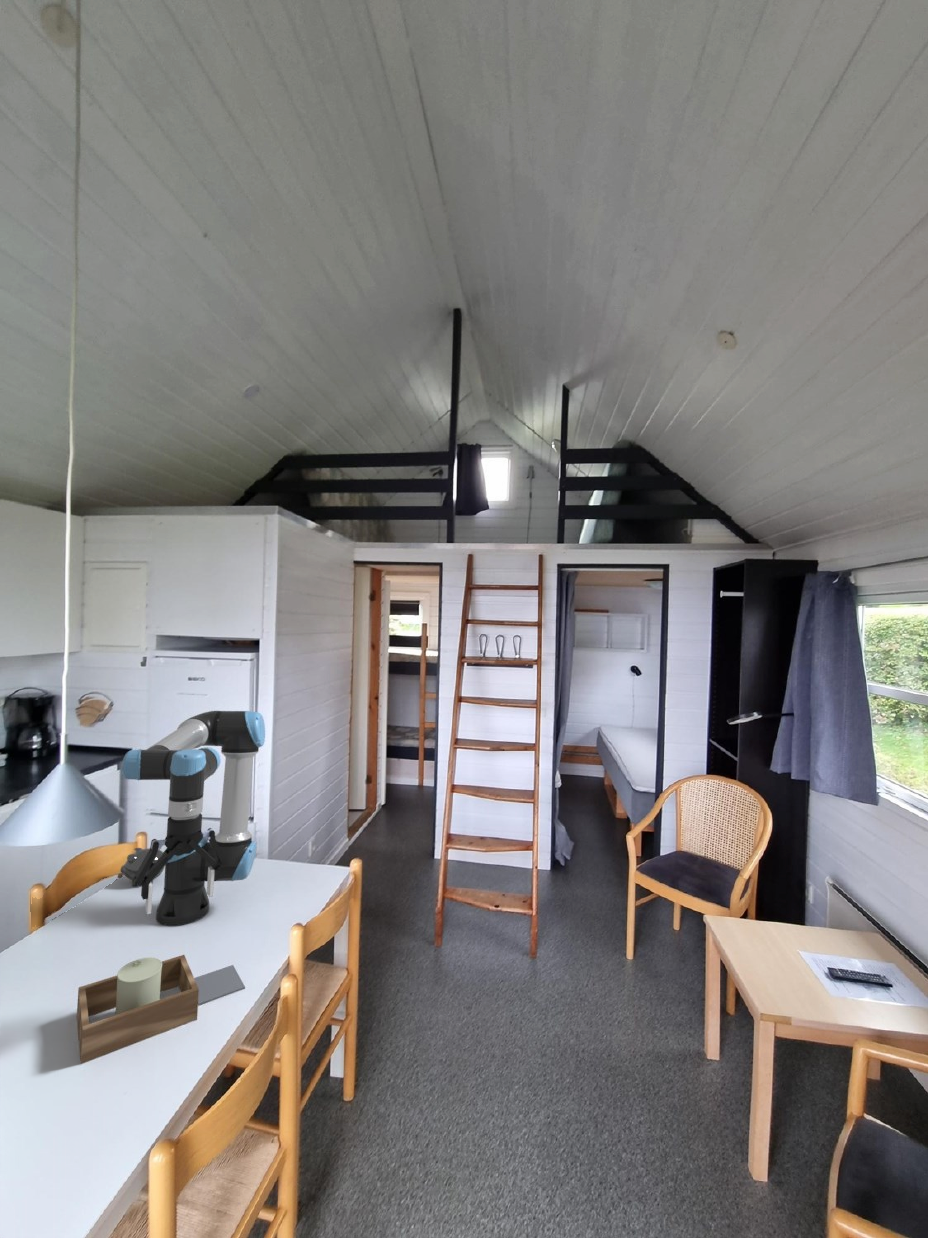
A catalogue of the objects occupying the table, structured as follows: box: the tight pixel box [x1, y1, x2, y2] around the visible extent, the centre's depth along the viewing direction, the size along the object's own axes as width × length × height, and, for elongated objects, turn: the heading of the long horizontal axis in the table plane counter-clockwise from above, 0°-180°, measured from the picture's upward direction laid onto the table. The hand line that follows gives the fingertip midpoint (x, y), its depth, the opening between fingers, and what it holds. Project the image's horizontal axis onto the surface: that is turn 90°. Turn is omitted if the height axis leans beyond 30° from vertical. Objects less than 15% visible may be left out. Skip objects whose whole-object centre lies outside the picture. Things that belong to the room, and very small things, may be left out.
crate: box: [76, 954, 199, 1065], centre depth 125 cm, size 16×22×7 cm
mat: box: [194, 964, 246, 1007], centre depth 137 cm, size 11×11×1 cm
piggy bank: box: [120, 847, 165, 887], centre depth 189 cm, size 11×15×12 cm
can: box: [114, 957, 162, 1016], centre depth 125 cm, size 9×9×12 cm
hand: (180, 903), depth 129 cm, fingers open, 13 cm apart
